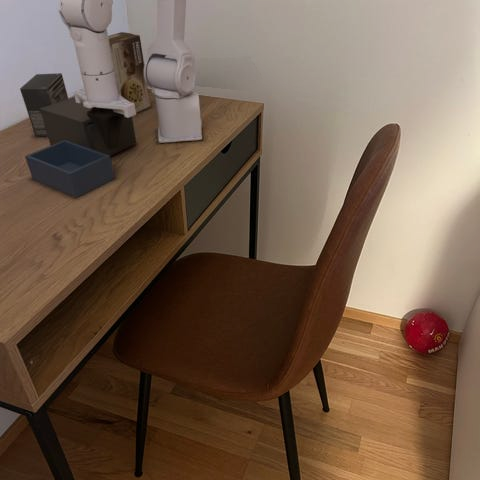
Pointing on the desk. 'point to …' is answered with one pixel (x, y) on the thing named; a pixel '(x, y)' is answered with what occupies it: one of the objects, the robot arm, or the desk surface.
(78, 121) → the cabinet
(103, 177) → the box
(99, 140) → the drawer
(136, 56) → the coffee box
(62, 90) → the small box
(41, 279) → the desk surface
